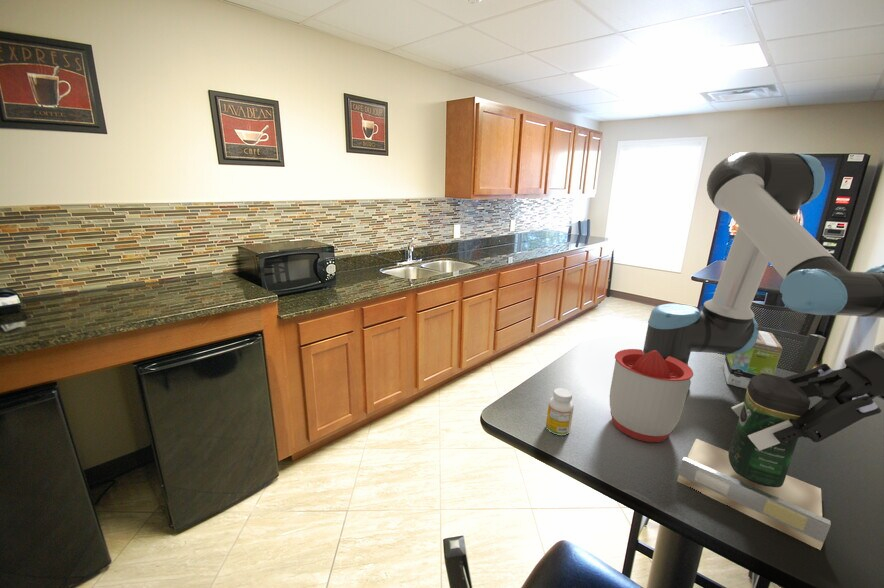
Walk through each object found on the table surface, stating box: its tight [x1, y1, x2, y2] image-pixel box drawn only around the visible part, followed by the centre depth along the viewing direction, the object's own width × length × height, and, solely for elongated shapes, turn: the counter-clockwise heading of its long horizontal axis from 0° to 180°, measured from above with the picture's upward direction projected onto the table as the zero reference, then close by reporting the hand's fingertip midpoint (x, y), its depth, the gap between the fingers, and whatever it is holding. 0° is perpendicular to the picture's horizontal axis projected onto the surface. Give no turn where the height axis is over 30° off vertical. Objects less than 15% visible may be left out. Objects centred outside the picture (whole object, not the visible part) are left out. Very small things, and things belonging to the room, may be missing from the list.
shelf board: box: [676, 438, 824, 551], centre depth 71 cm, size 20×16×2 cm
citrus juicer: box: [609, 348, 694, 443], centre depth 87 cm, size 16×17×20 cm
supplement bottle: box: [545, 387, 574, 436], centre depth 85 cm, size 5×5×10 cm
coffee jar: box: [728, 373, 811, 487], centre depth 68 cm, size 10×8×19 cm
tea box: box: [722, 330, 783, 390], centre depth 113 cm, size 15×10×15 cm, turn 148°
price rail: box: [678, 456, 832, 544], centre depth 65 cm, size 20×2×4 cm, turn 46°
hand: (744, 427), depth 69 cm, fingers closed on coffee jar, 9 cm apart
